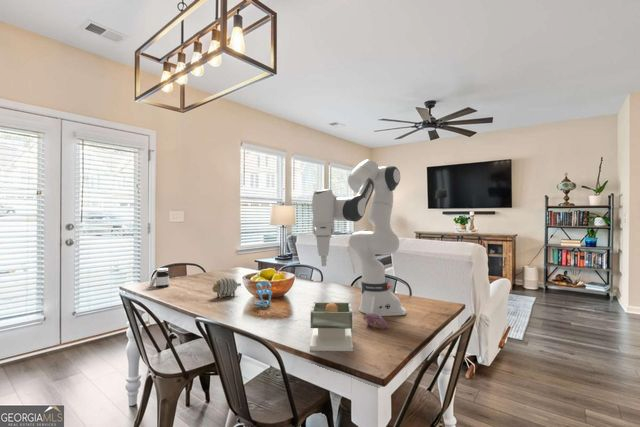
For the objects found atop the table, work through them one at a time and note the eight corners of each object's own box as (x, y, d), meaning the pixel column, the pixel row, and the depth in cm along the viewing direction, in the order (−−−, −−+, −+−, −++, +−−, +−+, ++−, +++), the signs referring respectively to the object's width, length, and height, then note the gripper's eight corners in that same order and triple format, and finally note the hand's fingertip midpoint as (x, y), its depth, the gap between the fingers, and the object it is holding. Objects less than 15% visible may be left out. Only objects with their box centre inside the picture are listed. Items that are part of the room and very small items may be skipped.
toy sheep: (208, 297, 188) (208, 277, 188) (235, 292, 200) (235, 274, 200) (217, 301, 181) (217, 280, 180) (244, 295, 192) (244, 276, 192)
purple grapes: (364, 328, 142) (360, 315, 140) (370, 321, 145) (366, 308, 143) (384, 334, 135) (380, 320, 133) (390, 326, 138) (385, 313, 136)
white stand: (315, 320, 147) (315, 301, 147) (349, 321, 147) (349, 301, 147) (309, 350, 115) (309, 326, 115) (352, 351, 115) (352, 326, 115)
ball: (338, 316, 125) (338, 316, 129) (338, 302, 126) (338, 303, 131) (324, 316, 125) (325, 316, 130) (325, 302, 126) (325, 302, 131)
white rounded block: (169, 287, 214) (169, 269, 214) (150, 289, 208) (150, 270, 208) (167, 283, 224) (167, 266, 224) (149, 285, 219) (149, 268, 219)
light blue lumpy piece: (260, 308, 167) (260, 284, 167) (253, 304, 174) (253, 281, 174) (274, 305, 172) (274, 282, 171) (267, 301, 178) (267, 279, 178)
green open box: (315, 308, 145) (315, 294, 145) (348, 308, 144) (348, 295, 145) (310, 328, 116) (310, 312, 116) (352, 329, 115) (352, 312, 115)
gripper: (316, 227, 143) (317, 259, 143) (314, 231, 123) (315, 268, 123) (331, 227, 143) (331, 259, 143) (331, 231, 122) (332, 268, 123)
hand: (324, 263), depth 133 cm, fingers open, 8 cm apart
